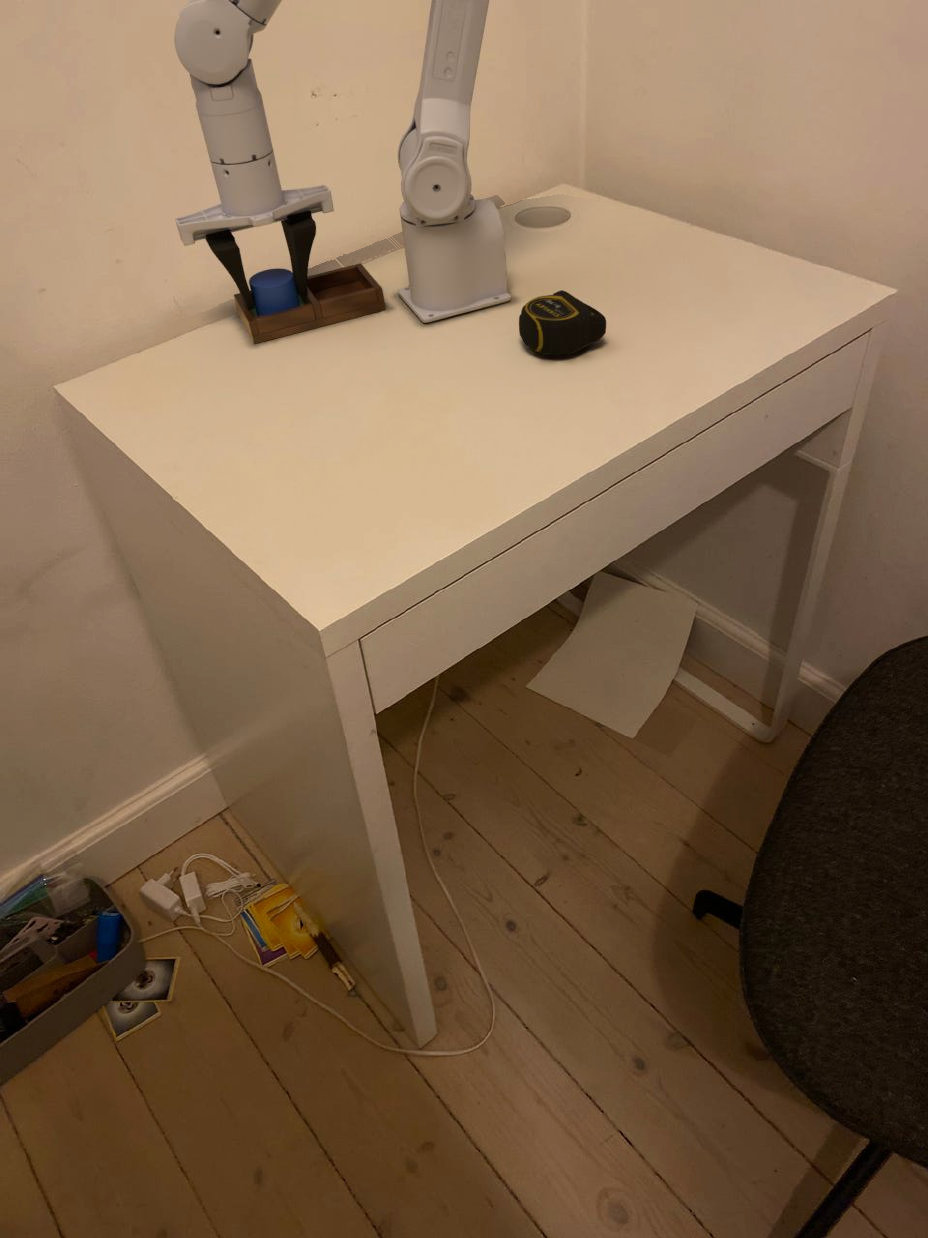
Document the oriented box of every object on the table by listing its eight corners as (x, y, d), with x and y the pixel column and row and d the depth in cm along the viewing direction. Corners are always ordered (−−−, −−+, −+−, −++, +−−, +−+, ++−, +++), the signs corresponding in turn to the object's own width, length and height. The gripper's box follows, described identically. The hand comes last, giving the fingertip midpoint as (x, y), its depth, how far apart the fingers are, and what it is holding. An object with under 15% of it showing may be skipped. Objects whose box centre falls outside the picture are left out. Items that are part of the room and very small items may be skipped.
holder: (364, 283, 99) (360, 262, 97) (385, 309, 94) (382, 287, 92) (239, 315, 96) (233, 294, 94) (254, 344, 91) (248, 322, 89)
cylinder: (294, 297, 96) (287, 264, 93) (305, 314, 93) (298, 280, 90) (252, 308, 95) (244, 274, 92) (262, 325, 92) (254, 291, 89)
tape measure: (609, 348, 84) (610, 309, 82) (545, 371, 82) (544, 331, 80) (568, 320, 89) (568, 282, 86) (506, 341, 87) (504, 303, 84)
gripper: (168, 184, 79) (212, 333, 88) (330, 148, 82) (356, 296, 92) (156, 161, 84) (198, 304, 93) (310, 128, 87) (336, 270, 96)
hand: (275, 298), depth 93 cm, fingers open, 5 cm apart
